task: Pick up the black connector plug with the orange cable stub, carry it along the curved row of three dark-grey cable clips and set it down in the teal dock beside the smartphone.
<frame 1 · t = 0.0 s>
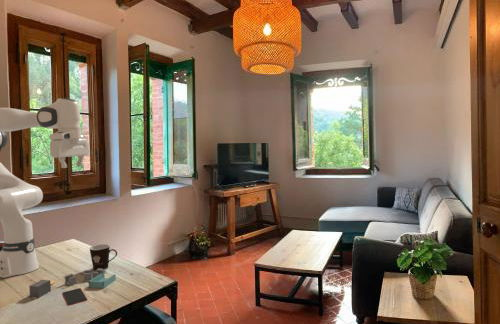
hand: (72, 166, 154), 48 cm above the table, fingers open, 8 cm apart
smartphone: (74, 298, 134), on the table
connector plug: (40, 294, 137), on the table
coffee mug: (103, 268, 162), on the table
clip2: (88, 278, 150), on the table
dock: (102, 283, 145), on the table
clip1: (70, 283, 146), on the table
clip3: (98, 278, 151), on the table
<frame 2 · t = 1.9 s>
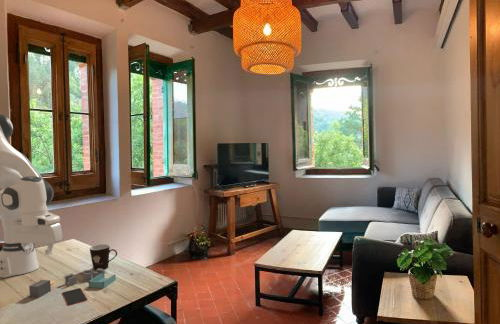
hand: (38, 253, 136), 16 cm above the table, fingers open, 8 cm apart
nothing on the table moved.
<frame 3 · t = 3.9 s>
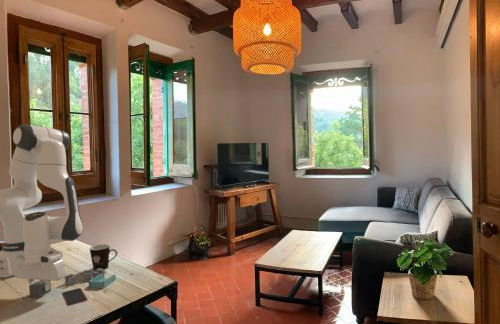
hand: (40, 289, 137), 2 cm above the table, fingers closed on connector plug, 4 cm apart
connector plug: (40, 294, 137), on the table, touching gripper
everything else where it was.
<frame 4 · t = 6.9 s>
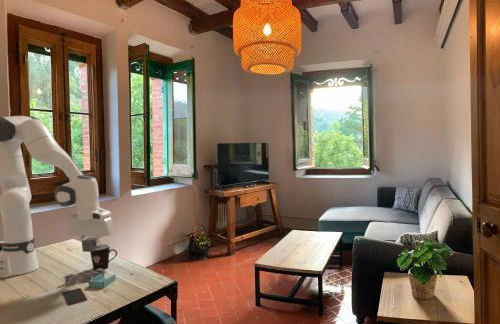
hand: (91, 245, 149), 15 cm above the table, fingers closed on connector plug, 4 cm apart
connector plug: (91, 249, 149), point 13 cm above the table, touching gripper
everything else where it was.
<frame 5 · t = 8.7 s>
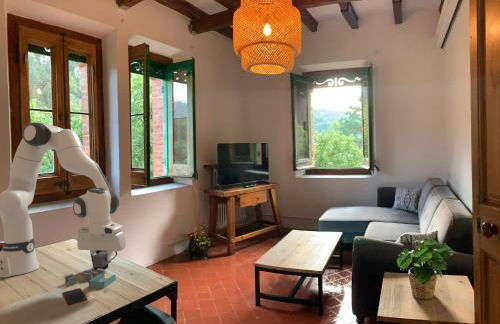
hand: (102, 260, 145), 10 cm above the table, fingers closed on connector plug, 4 cm apart
connector plug: (102, 264, 145), point 8 cm above the table, touching gripper
everything else where it was.
when the fingers open (4 cm above the table, at t = 10.0 s): connector plug drops 1 cm, resting on dock.
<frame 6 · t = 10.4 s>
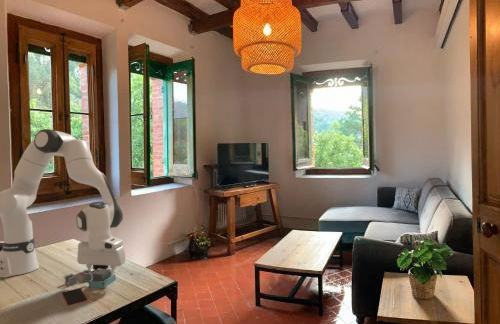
hand: (102, 274, 145), 4 cm above the table, fingers open, 8 cm apart
connector plug: (102, 282, 145), resting on dock
everything else where it was.
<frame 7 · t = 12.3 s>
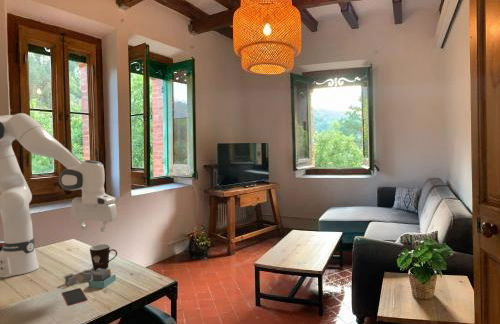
hand: (93, 230, 150), 21 cm above the table, fingers open, 8 cm apart
nothing on the table moved.
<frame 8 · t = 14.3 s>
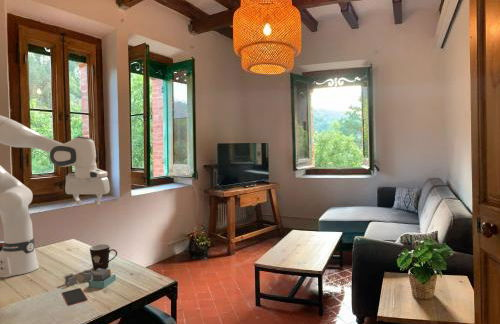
hand: (88, 204, 156), 31 cm above the table, fingers open, 8 cm apart
nothing on the table moved.
at the end: connector plug 0.1 cm off-centre on the dock, point 0.5 cm above the dock's base; connector plug tilted 0°; the gripper is holding nothing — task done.
